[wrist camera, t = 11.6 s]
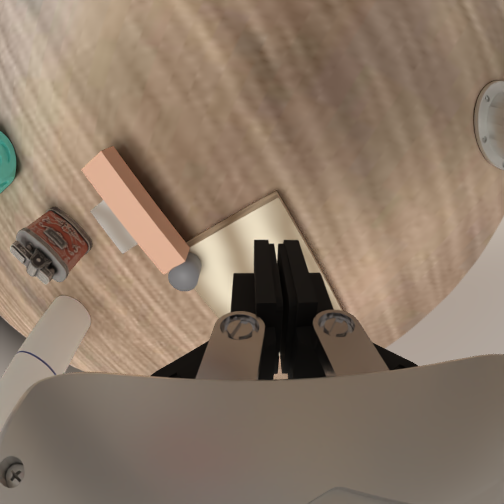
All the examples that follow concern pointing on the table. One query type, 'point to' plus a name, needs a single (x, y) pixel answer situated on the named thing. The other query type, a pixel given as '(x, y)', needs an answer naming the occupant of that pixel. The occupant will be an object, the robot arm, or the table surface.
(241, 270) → the stool seat
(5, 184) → the decorative dice
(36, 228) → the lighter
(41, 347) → the cylindrical container
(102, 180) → the stool leg
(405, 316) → the table surface
